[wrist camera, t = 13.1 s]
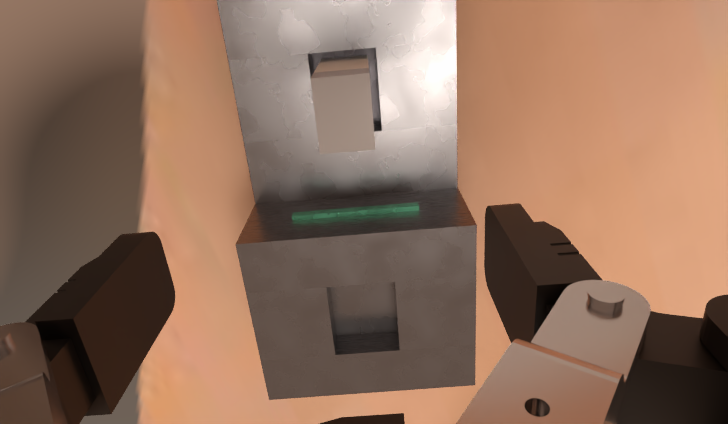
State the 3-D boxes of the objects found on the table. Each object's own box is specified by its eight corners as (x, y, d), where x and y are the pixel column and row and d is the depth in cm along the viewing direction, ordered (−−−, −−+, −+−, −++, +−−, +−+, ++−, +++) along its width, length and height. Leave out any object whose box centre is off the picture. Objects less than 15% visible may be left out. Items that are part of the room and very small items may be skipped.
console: (226, -17, 31) (178, -21, 23) (446, -38, 31) (479, -50, 22) (286, 319, 42) (269, 399, 33) (452, 307, 41) (475, 385, 33)
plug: (321, 59, 32) (310, 78, 25) (367, 55, 32) (369, 73, 25) (328, 119, 34) (319, 154, 26) (372, 115, 34) (375, 149, 26)
